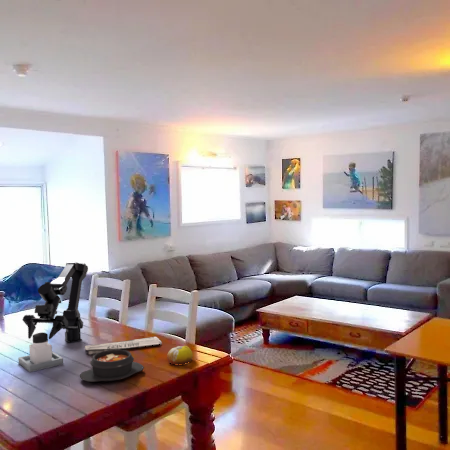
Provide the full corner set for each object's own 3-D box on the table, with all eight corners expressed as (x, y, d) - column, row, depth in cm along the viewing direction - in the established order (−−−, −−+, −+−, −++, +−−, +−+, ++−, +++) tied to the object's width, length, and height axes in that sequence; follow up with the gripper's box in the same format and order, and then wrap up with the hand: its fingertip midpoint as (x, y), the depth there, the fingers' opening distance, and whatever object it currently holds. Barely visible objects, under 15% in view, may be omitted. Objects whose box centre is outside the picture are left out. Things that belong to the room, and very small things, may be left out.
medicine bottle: (52, 361, 202) (51, 333, 201) (35, 365, 197) (34, 337, 196) (46, 357, 207) (45, 330, 206) (29, 361, 202) (28, 333, 202)
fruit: (180, 354, 210) (184, 338, 208) (195, 366, 203) (199, 350, 201) (160, 360, 202) (163, 343, 200) (175, 373, 195) (178, 356, 193)
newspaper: (155, 340, 235) (155, 333, 235) (163, 347, 223) (162, 339, 223) (82, 350, 220) (82, 342, 220) (86, 358, 209) (86, 350, 209)
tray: (50, 355, 212) (50, 350, 212) (63, 363, 201) (63, 358, 201) (18, 363, 203) (18, 357, 202) (29, 372, 192) (29, 366, 192)
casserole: (88, 391, 172) (87, 369, 172) (74, 375, 188) (73, 355, 187) (151, 376, 186) (150, 355, 185) (133, 362, 201) (132, 343, 201)
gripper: (23, 296, 206) (10, 328, 196) (64, 297, 204) (53, 329, 193) (33, 310, 214) (21, 341, 204) (72, 310, 212) (62, 342, 202)
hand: (39, 338), depth 201 cm, fingers open, 9 cm apart
